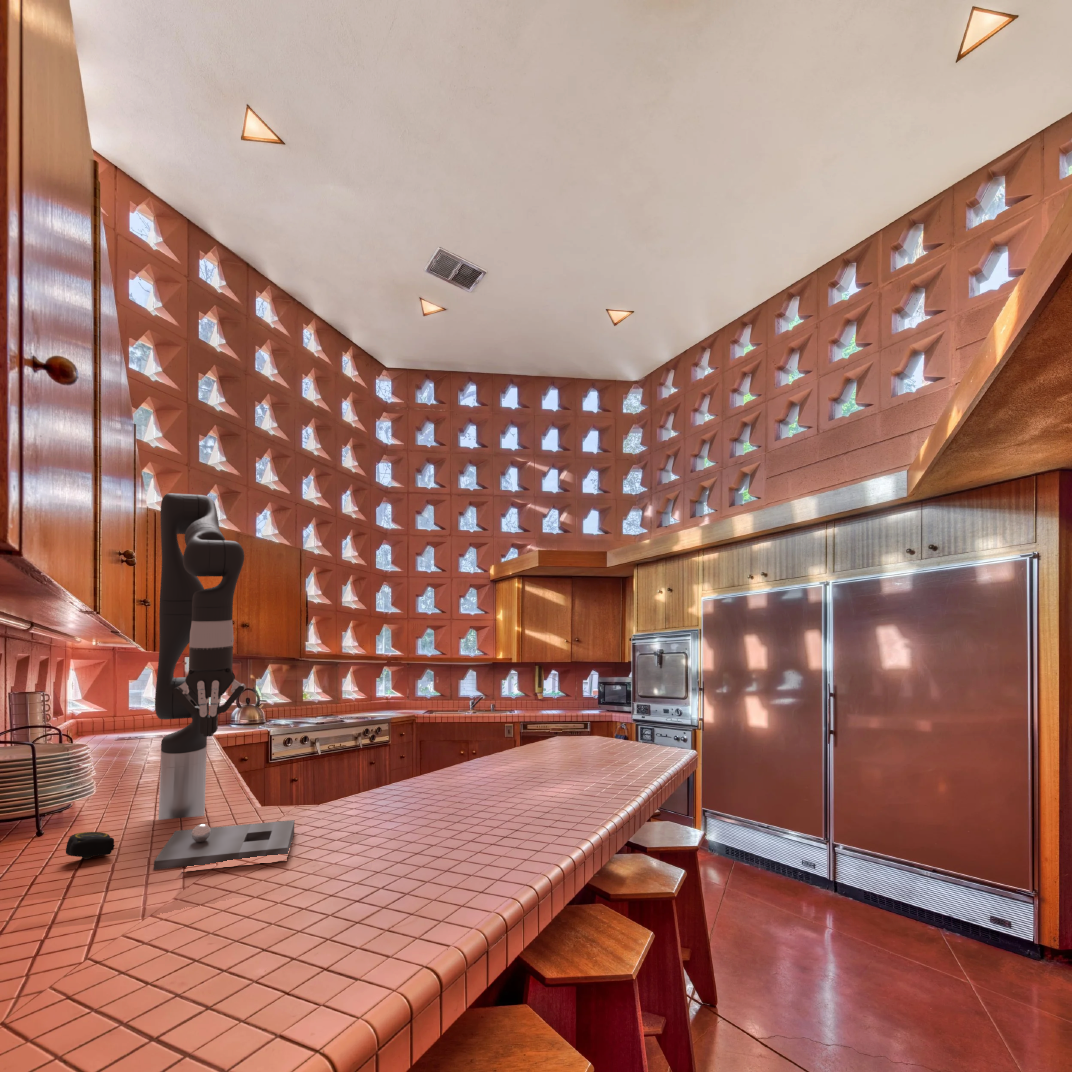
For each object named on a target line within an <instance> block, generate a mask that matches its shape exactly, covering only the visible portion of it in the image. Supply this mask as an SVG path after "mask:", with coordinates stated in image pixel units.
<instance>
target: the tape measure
mask: <svg viewBox="0 0 1072 1072" xmlns="http://www.w3.org/2000/svg"><path fill="white" fill-rule="evenodd" d="M115 845H116V844H115V839H114V838H113V837H111V836H110V834H108V833H106V832H100V831H85V832H78V833H74V834H71V836H69V838H68V840H67V843H66V846H65V854H66V855H67V856H71V857H76V858H77V857H79V858H82V859H85V860H88V859H91V858H92V857H96V856H107V855H110V854H111V853H112V851H114V849H115Z"/></svg>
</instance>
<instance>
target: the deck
mask: <svg viewBox="0 0 1072 1072" xmlns="http://www.w3.org/2000/svg"><path fill="white" fill-rule="evenodd" d="M193 829H194V828H193ZM193 829H182V830H175V831H174V832H173V833H172V835H171V837H170V838H169V839H168V840H167V842H166V843H165V845H164V846H163V848H162V849H161V851H160V852H159V853H158V854H157V856H156V857H155V859H154V861H153V870H154V871H156V870H157V871H158V870H165V869H172V868H173V869H175V868H185V867H187V866H194V865H205V864H210V863H216V862H223V861H227V860H233V859H242V858H250V857H257V856H267V855H278V854H288V851H289V848H290V845H291V846H292V844H291V842H292V843H293V839H294V836H295V835H294V834H295V819H291V820H290V819H289V820H280V821H279V820H277V821H269V822H268V821H267V822H259V823H258V822H257V823H248V824H247V823H246V824H237V825H235V824H234V825H226V826H224V825H223V826H215V827H213V826H211V827H210V830H211V833H210V836H209V837H208V839H207V840H205V841H203V842H195V841H194V840H193V839H192V831H193ZM290 849H291V848H290Z"/></svg>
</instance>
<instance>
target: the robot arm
mask: <svg viewBox="0 0 1072 1072" xmlns="http://www.w3.org/2000/svg"><path fill="white" fill-rule="evenodd" d="M159 513H160V517H159V518H160V540H161V541H160V546H161V547H160V548H161V572H160V573H161V575H160V588H159V589H160V590H159V591H160V592H159V611H158V615H159V617H158V618H159V619H158V621H159V626H158V627H159V628H158V629H159V631H158V632H159V635H158V636H159V637H158V638H159V640H158V641H159V642H158V643H159V645H158V646H159V649H158V650H159V651H158V660H157V661H158V663H157V672H156V673H157V675H156V685H155V692H154V693H155V694H154V695H155V696H154V709H155V714H156V716H157V718H158V719H159V720H179V719H191V722H190V723H189V724H188V725H186V726H185V727H183V728H181V729H178V730H177V731H174V732H171V733H168V734H167V735H166V736H164V737H163V738H162V739H161V743H160V744H161V745H160V769H159V770H160V773H159V776H160V777H159V793H158V794H159V797H158V798H159V799H158V819H157V820H161V821H162V820H170V819H172V820H173V819H183V818H195V817H204V816H205V813H206V812H205V811H206V810H205V808H206V806H205V805H206V784H207V783H206V782H207V781H206V780H207V779H206V778H207V753H208V752H207V750H208V749H207V747H208V739H207V738H208V737H213V736H214V735H215V734H216V732H217V731H218V727H219V715H220V714H222V713H223V714H224V713H226V712H227V711H228V710H229V709H230V707H231V706H233V704H234V703H235V702H236V700H237V699H238V698H239V697H240V696H241V694H243V692H244V691H245V689H246V688H247V685H246V684H245V683H241V682H240V681H238V680H237V679H236V675H235V673H234V671H233V660H234V659H233V655H234V654H233V653H234V643H235V639H234V638H235V637H234V624H233V612H234V611H233V609H234V608H233V607H234V606H233V605H234V596H235V590H236V586H237V583H238V580H239V577H240V575H241V572H242V570H243V569H242V568H243V565H244V562H245V551H244V549H243V547H242V545H241V544H240V543H239V542H238V541H235V540H227V539H226V538H225V536H224V535H223V533H222V532H221V530H220V522H219V516H218V510H217V507H216V503H215V502H214V500H213V499H212V497H210V496H209V495H204V494H193V493H192V494H191V493H165V494H164V496H163V497H162V499H161V504H160V512H159ZM178 535H184V543H185V548H184V552H182V550H181V548H180V545H179V540H178ZM200 577H222V578H221V580H220V582H219V583H218V584H217V585H216V586H215V585H214V586H212V587H208V588H204V585H203V583H202V582H201V581H200V579H199V578H200ZM188 645H189V647H188V648H189V650H188V653H189V654H188V673H187V675H186V676H185V677H182V676H181V677H180V676H179V677H175V676H174V673H175V668H176V666H177V664H178V661H179V660H180V658H181V656H182V654H183V652H185V651H184V650H185V649H186V648H187V646H188ZM230 687H231V689H230V692H231V693H232V694H231V695H230V696H229V697H228V698H227V700H226V701H225V702H224V703H223V704H222V705H221V699H222V697H223V695H224V694H225V693H226V691H227V690H228V689H229V688H230Z"/></svg>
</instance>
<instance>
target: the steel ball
mask: <svg viewBox="0 0 1072 1072" xmlns="http://www.w3.org/2000/svg"><path fill="white" fill-rule="evenodd" d="M210 828H211V827H210V826H209V825H208V824H206V823H200V824H198V825H195V826H194V828H193V831H192V839H193V840H194V841H195V842H203V841H205V840H207V839H208V837H209V836H210V833H211V830H210Z"/></svg>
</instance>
